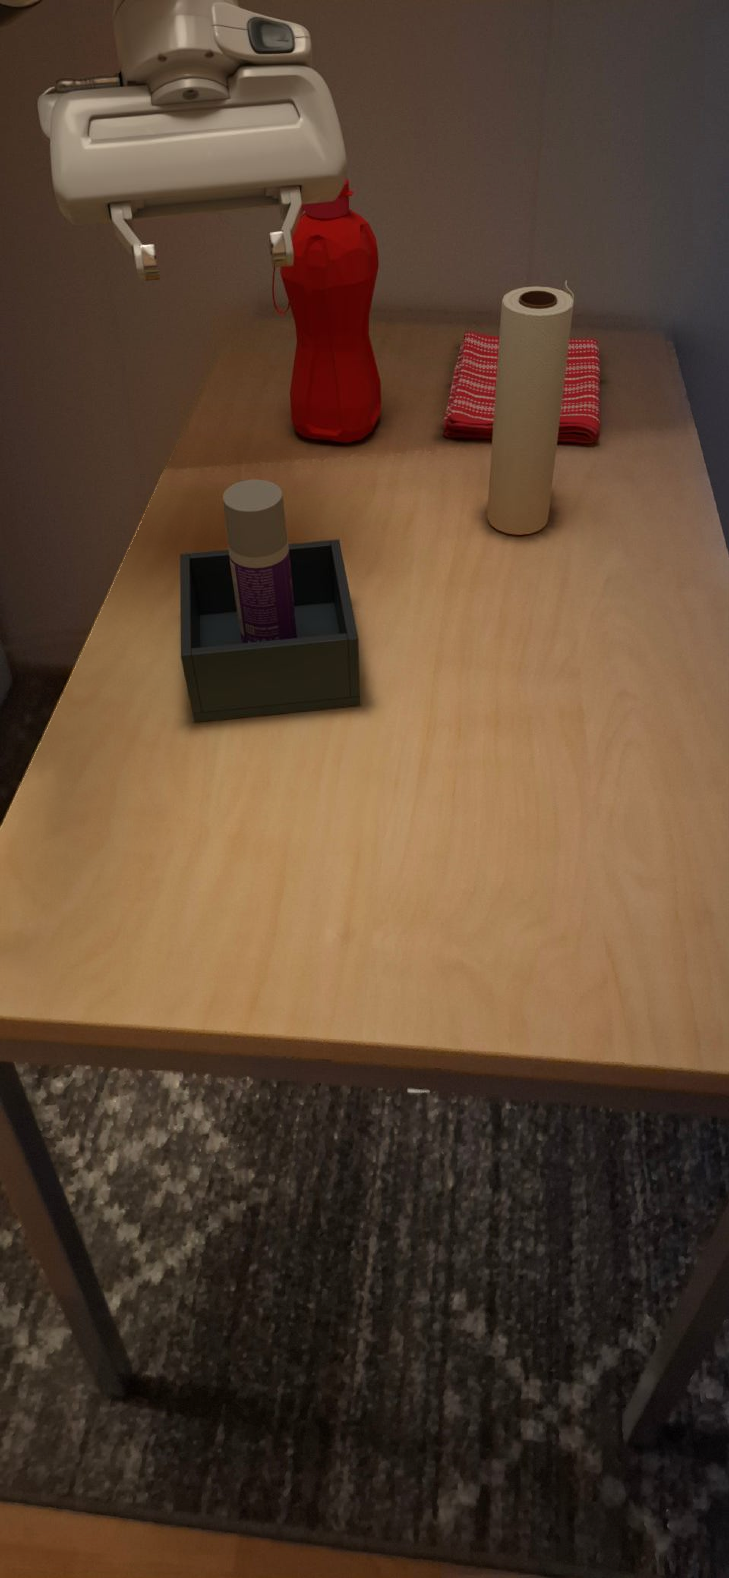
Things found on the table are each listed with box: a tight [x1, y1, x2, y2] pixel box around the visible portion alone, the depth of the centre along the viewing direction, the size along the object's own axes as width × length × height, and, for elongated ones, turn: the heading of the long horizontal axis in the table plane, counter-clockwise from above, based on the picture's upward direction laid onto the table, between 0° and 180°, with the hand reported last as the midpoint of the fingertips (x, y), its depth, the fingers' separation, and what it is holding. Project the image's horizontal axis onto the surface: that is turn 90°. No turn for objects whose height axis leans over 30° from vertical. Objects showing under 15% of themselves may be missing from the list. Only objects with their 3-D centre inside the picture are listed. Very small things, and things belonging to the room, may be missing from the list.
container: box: [222, 479, 297, 643], centre depth 83 cm, size 5×5×15 cm
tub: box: [179, 539, 362, 723], centre depth 87 cm, size 14×14×7 cm
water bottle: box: [271, 177, 382, 444], centre depth 108 cm, size 9×11×25 cm
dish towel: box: [442, 331, 601, 444], centre depth 120 cm, size 17×24×3 cm
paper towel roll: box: [486, 279, 575, 536], centre depth 95 cm, size 7×6×21 cm
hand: (216, 270), depth 73 cm, fingers open, 8 cm apart
